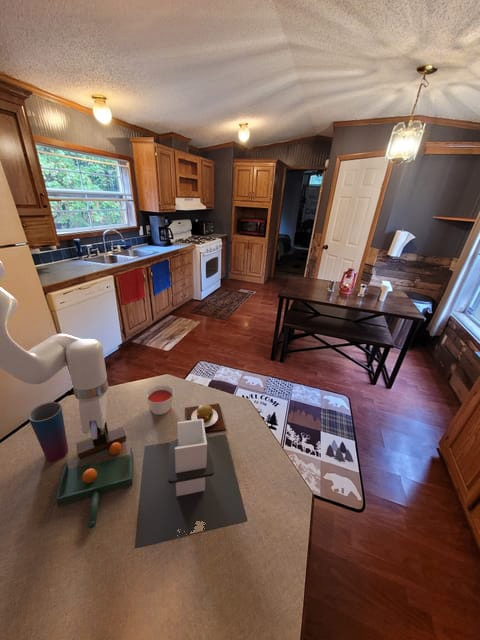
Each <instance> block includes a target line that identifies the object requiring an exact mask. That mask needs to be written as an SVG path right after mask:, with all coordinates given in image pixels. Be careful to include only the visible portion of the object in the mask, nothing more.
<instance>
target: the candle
mask: <svg viewBox="0 0 480 640" xmlns="http://www.w3.org/2000/svg"><path fill="white" fill-rule="evenodd" d="M174 394H175V391H174V389H173V387H172V386H169V385H166V384H160V385H155V386H153V387H150V388H149V389H148V390H147V392H146V393H145V397H146V401H147V404H148V407H149V409H150V411H151V413H152V414H154V415H157V416H158V415H160V416H161V415H165V414H167V413H169V411H170V410H171V408H172V404H173V400H174Z"/></svg>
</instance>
